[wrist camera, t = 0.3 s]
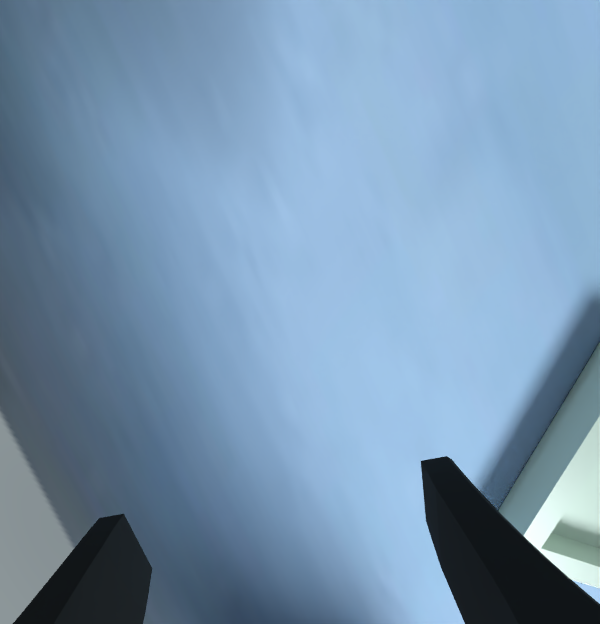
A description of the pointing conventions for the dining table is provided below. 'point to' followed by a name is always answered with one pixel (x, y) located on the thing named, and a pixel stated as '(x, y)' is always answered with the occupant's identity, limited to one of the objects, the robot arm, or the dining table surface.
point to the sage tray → (565, 484)
